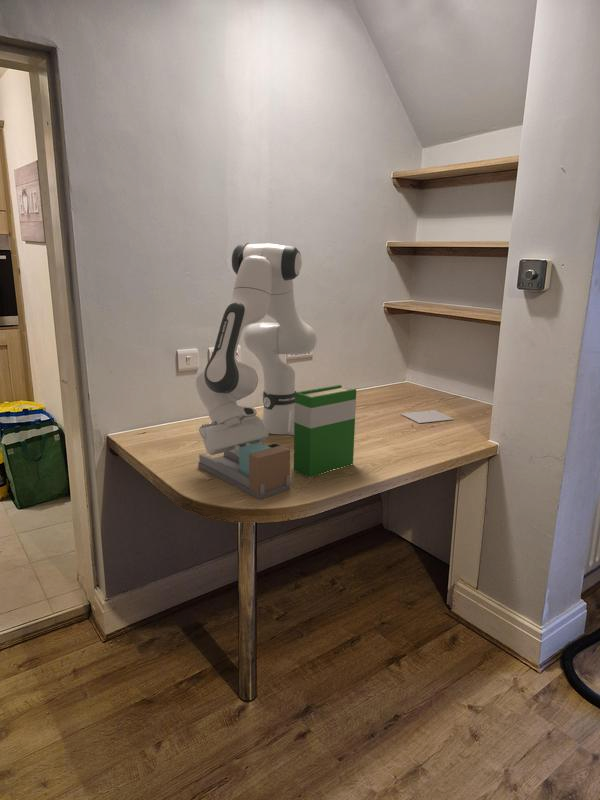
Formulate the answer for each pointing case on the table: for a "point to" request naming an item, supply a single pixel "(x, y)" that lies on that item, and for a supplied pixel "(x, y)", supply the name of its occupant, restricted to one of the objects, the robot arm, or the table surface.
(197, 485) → the table surface
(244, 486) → the keeper track
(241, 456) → the block
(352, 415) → the hardback book
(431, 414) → the paper stack
